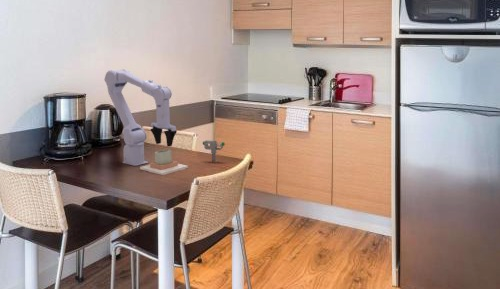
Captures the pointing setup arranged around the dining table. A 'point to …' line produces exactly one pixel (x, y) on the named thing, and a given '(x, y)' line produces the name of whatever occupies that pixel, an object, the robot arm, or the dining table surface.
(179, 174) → the dining table surface
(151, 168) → the duct plate
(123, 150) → the robot arm
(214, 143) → the mechanical component
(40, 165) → the dining table surface
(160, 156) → the striped green box
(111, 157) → the dining table surface
